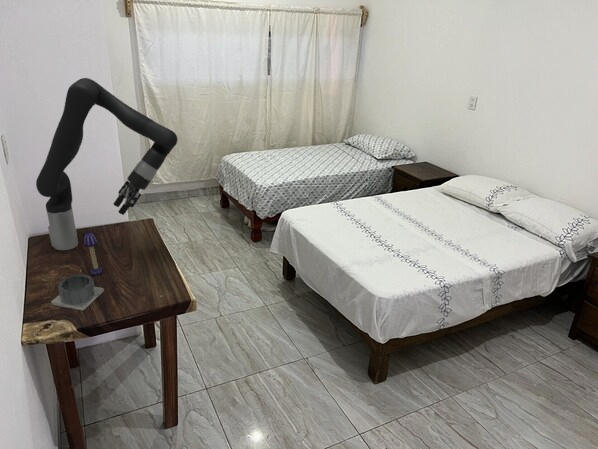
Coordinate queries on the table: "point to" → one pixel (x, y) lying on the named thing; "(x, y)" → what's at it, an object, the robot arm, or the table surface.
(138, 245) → the table surface
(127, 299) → the table surface
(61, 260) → the table surface
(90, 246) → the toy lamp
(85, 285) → the collar stand
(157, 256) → the table surface
